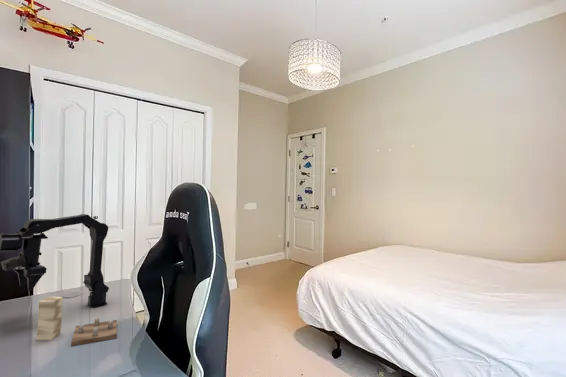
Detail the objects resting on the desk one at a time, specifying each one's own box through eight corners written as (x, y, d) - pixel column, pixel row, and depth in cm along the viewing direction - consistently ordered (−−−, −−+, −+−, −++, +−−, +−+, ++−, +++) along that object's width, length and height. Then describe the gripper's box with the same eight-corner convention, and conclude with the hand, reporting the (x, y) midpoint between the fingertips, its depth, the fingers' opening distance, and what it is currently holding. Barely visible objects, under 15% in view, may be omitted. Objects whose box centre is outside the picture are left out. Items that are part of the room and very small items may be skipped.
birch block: (46, 333, 112) (48, 296, 112) (60, 333, 112) (62, 296, 112) (36, 340, 107) (39, 301, 107) (51, 340, 107) (53, 301, 107)
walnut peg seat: (75, 329, 116) (76, 319, 116) (116, 323, 123) (117, 313, 123) (71, 346, 103) (71, 334, 104) (116, 338, 110) (117, 327, 110)
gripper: (-3, 248, 119) (-9, 287, 118) (13, 254, 109) (6, 297, 108) (32, 246, 128) (27, 282, 127) (49, 252, 118) (43, 291, 117)
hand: (25, 288), depth 119 cm, fingers open, 9 cm apart
